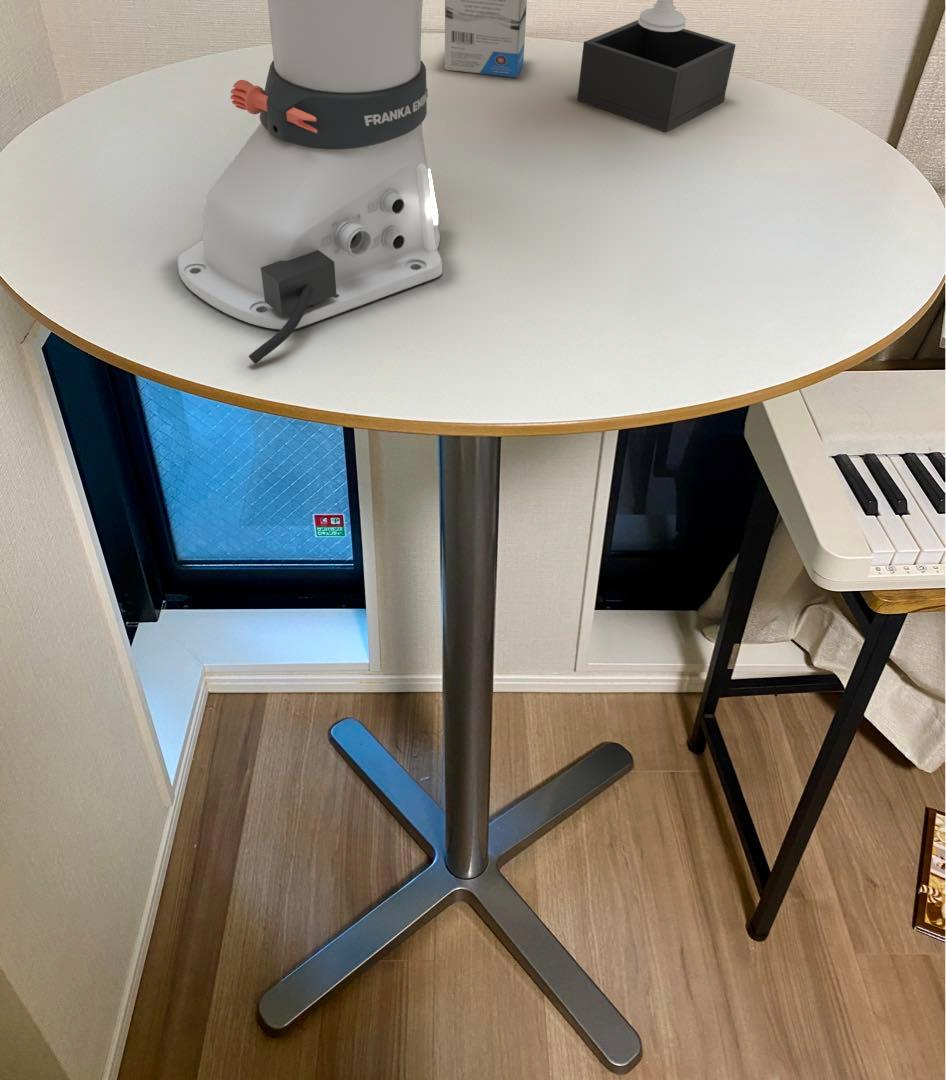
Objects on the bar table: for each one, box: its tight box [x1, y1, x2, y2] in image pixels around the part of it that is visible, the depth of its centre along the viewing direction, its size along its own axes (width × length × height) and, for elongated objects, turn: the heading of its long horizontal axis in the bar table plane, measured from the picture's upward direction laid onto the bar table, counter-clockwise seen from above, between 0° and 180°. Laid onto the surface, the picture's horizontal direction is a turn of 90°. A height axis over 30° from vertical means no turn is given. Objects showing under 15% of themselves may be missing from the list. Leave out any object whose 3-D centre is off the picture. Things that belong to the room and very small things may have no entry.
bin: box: [576, 19, 736, 133], centre depth 107 cm, size 12×12×6 cm
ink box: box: [444, 0, 528, 78], centre depth 110 cm, size 9×5×12 cm, turn 77°
